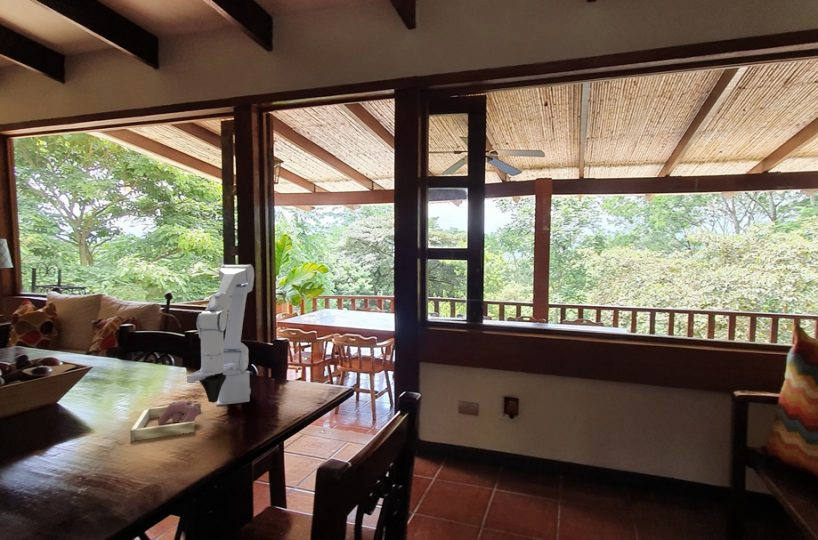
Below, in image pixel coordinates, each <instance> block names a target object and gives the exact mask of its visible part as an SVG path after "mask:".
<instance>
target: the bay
mask: <svg viewBox="0 0 818 540" xmlns="http://www.w3.org/2000/svg"><path fill="white" fill-rule="evenodd" d="M192 403H193V404H195V405H196V406H198V407H199V413H200V412H201V411H202V406H201V405H202V403H201V401H199V402H192ZM168 406H169V405H164V406H157V407H156V406H155V407H146V408H145V409H144V410H143V412H142V413H141V415H140V416H139V417H138V419H137V420H136V422H135V423H134V424H133V426H132V428H131V429H130V431H129V433H130V435H129V439H130V442H132V441H139V440H140V441H141V440H146V439H147V440H148V439H156V438H162V437H169V436H175V435H177V436H178V435H182V434H183V433H184V434H189V433H190V432H191V433H195V420H194V421H192V422H184V423H182V422H176V423H170V424H163V425H155V426H149V427H148V426H147V427H145V425H146V424H147V422H148V421H149V419H152V418H160V416H161V415H162V414H163V413H164V412H165V410H166V409H167V408H168ZM185 414H186V413H183V412H182V415H185ZM191 433H190V434H191Z"/></svg>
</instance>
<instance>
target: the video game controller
mask: <svg viewBox="0 0 818 540" xmlns="http://www.w3.org/2000/svg"><path fill="white" fill-rule="evenodd" d="M193 403H194V402H191V401H187V400H180V401H173V402H171V404H168V405H167V406H168V408H167V409H166V410H165V412H164V413H163V414H162V415H161V416H160V417H158V421H157V424H158V426H162V425H166V423H167V422H168V421H169V420H170V419H171V421H172V422H173V423H184V422H192V421H194V422H195V420H196V418H197V417H198V415H199V414H200V412H199V407H198V406H196V405H195V404H193ZM182 412H183V413H185V414H182Z"/></svg>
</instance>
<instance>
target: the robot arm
mask: <svg viewBox="0 0 818 540" xmlns="http://www.w3.org/2000/svg"><path fill="white" fill-rule="evenodd" d="M218 277H219V281H220V285H219V287H218V290H217V292H215V293H213V294H212V296H211V297H210V299H209V301H208V304H207V306H206V307H205V309H204V311H202V312H201V313H199V314H198V315H197V318H196V328H197V332H198V338H199V339H200V361H201V362H200V369H199V370H197V371H195V372H193V373H190V374H187V375H186V383H189V384H194V383H196V382H198V381H199V383H200V384H201V386H202V387H203V389H204V391H205V393H206V397H207V401H208V402H209V403H212V404H214V403H216V406H224V405H231V404H240V403H241V404H242V403H246V402H247V403H248V402H250V400H251V399H250V395H251V390H252V389H251V387H250V371H249V370H247V369H248V365H249V348H248V346H247V345H245V343H243V342H242V341H241V339H242V331H243V325H244V324H243V323H244V317H245V309H246V303H247V298H248V297H247V296H248V293H250V292H252V291H253V288H254V281H255V280H254V279H255V269H254V267H253V265H252V264H251V263H249V264H225V263H224V264H223V263H222V264H221V266H220V267H219V271H218ZM224 332H225V334H224Z"/></svg>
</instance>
